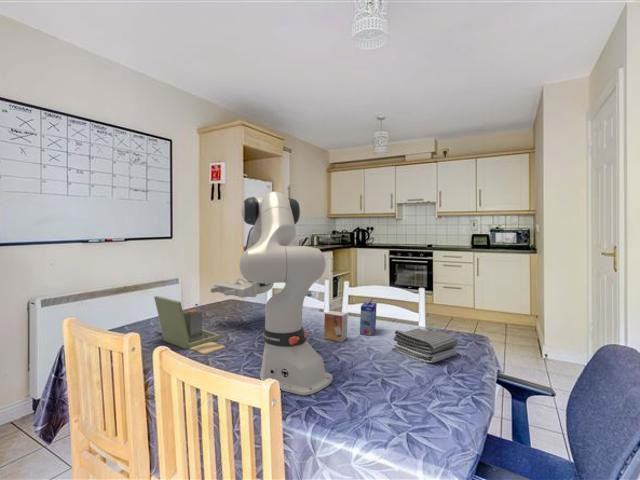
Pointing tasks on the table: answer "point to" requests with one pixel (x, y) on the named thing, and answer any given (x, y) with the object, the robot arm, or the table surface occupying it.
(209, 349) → the pad
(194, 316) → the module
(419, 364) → the table surface
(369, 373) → the table surface
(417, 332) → the towel
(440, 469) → the table surface
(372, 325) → the juice box
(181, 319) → the case
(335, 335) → the small box
